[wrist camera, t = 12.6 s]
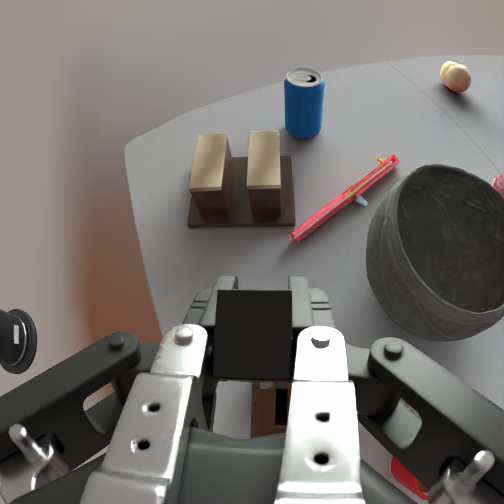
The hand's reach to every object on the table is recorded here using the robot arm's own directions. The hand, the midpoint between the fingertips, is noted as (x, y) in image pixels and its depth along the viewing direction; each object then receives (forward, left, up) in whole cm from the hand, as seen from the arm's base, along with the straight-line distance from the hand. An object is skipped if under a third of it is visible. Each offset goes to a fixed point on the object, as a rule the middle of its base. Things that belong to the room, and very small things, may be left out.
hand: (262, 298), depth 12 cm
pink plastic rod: (+6, +25, -29) cm, 39 cm away
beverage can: (-4, +39, -29) cm, 49 cm away
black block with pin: (0, -2, -13) cm, 13 cm away
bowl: (+18, +14, -29) cm, 37 cm away
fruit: (+31, +68, -29) cm, 81 cm away
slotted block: (-11, +23, -29) cm, 38 cm away
